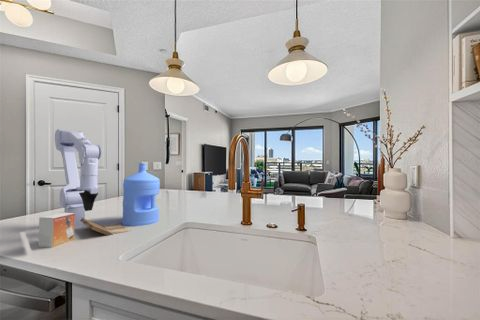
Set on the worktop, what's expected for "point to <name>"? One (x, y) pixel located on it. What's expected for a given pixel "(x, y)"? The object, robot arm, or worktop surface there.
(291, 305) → the worktop surface
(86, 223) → the walnut plank
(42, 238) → the small box
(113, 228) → the oak floor strip
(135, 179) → the water jug
